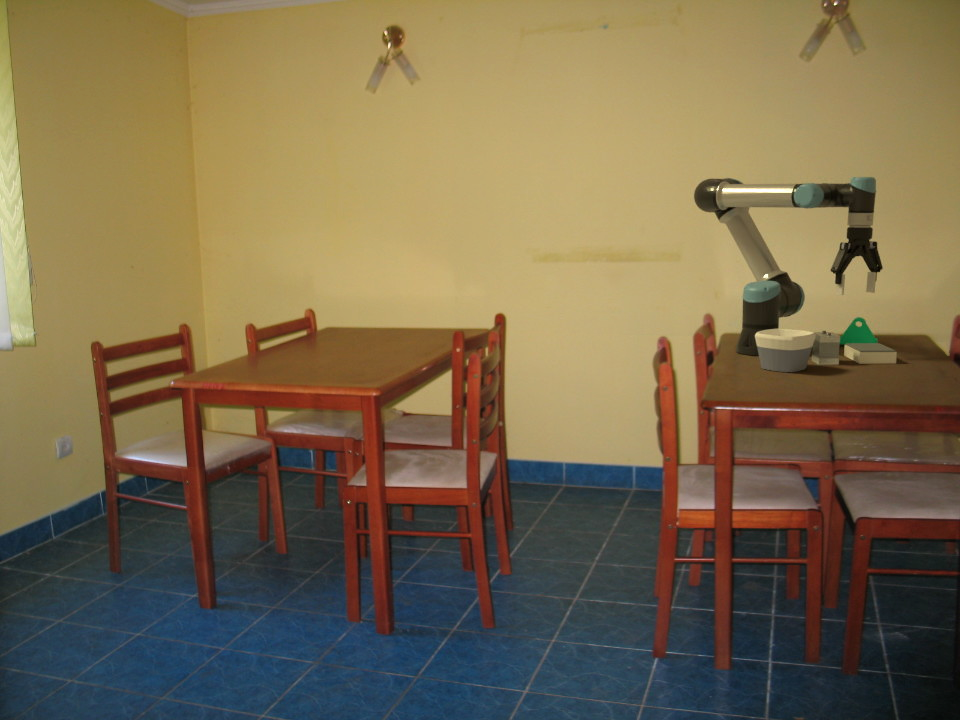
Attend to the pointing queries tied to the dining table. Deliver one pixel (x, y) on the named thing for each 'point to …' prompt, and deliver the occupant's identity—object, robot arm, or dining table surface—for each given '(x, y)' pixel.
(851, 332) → the camera mount
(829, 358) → the housing
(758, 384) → the dining table surface
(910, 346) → the dining table surface
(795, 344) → the bowl
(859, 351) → the plinth
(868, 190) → the robot arm
